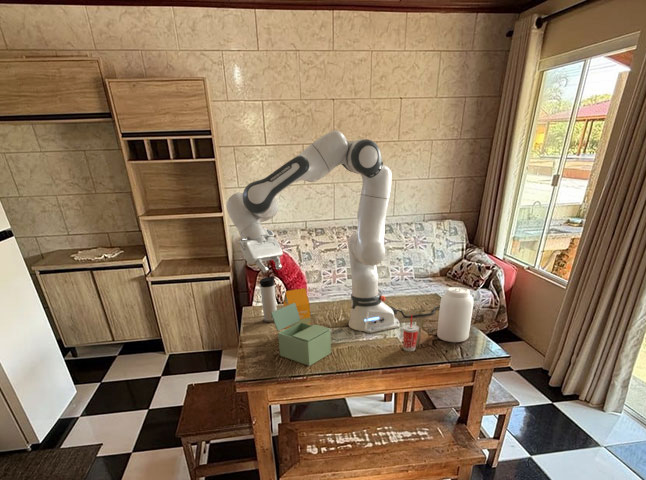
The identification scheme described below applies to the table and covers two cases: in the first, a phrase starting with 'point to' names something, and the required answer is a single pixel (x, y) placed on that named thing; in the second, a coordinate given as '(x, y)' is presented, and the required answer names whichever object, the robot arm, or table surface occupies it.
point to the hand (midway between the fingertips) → (273, 270)
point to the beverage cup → (410, 336)
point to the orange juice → (299, 304)
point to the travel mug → (268, 298)
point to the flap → (285, 316)
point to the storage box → (305, 343)
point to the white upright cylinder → (455, 315)
